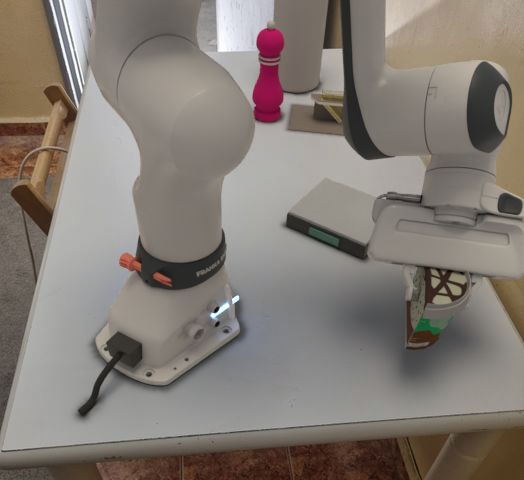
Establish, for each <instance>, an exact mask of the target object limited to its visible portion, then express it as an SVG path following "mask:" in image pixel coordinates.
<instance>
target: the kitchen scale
mask: <svg viewBox="0 0 524 480" xmlns="http://www.w3.org/2000/svg"><path fill="white" fill-rule="evenodd" d="M377 197H378V196H374V195H372V194H370V193H366V192H364V191H362V190H359V189H356V188H354V187H351V186H348V185H346V184H344V183H340V182H338V181H336V180H333V179H330V178H327V177H324V178H323V179H322V180H321V181H320V182H319V183H318V184H316V186H315V187H313V188H312V189H311V190H310V191H309V192H308V193H307V194H306V195H305V196H303V198H301V199H300V200H299V201H298V202H297V203H296V204H295V205H294V206H293V207H291V208H290V209H289V211H288V212H287V213H286V221H285V222H286V223H285V226H286V227H288V228H290V229H293V230H295V231H297V232H299V233H302V234H304V235H306V236H309V237H311V238H314V239H316V240H318V241H320V242H322V243H325V244H327V245H330V246H332V247H334V248H336V249H339V250H341V251H343V252H346V253H348V254H350V255H352V256H355V257H357V258H360V259H362V260H364V259H365V258H366V256H368V255H367V250H368V245H369V241H370V237H371V234H372V231H373V228H374V225H375V223H374V222H373V219H372V209H373V204H374V201H375V200H376V198H377Z"/></svg>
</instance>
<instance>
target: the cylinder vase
mask: <svg viewBox="0 0 524 480" xmlns="http://www.w3.org/2000/svg"><path fill="white" fill-rule="evenodd" d="M328 7H329V0H273V19H272V21H274V22H275V29H278V30H279V31H280V32H281V33H282V34H283V37H284V48H283V50H282V51H281V52H280V54H281V62H280V63H279V67H278V75H279V80H280V83H281V86H282V89H283V92H287V93H292V94H293V93H294V94H295V93H296V94H297V93H298V94H299V93H306V92H310V91H314V89H316V88H317V87H318V86H319V84H320V77H321V68H322V59H323V51H324V44H325V43H324V42H325V34H326V33H325V32H326V24H327V16H328Z"/></svg>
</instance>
